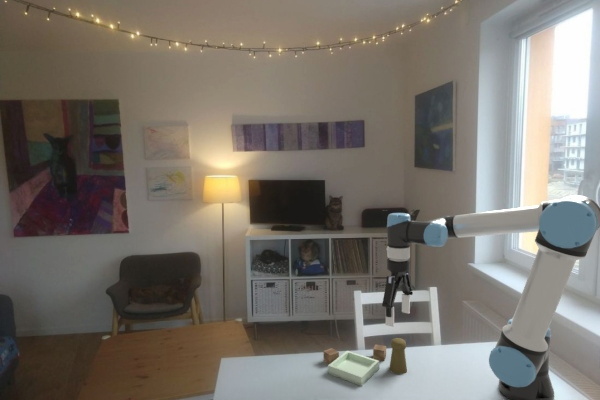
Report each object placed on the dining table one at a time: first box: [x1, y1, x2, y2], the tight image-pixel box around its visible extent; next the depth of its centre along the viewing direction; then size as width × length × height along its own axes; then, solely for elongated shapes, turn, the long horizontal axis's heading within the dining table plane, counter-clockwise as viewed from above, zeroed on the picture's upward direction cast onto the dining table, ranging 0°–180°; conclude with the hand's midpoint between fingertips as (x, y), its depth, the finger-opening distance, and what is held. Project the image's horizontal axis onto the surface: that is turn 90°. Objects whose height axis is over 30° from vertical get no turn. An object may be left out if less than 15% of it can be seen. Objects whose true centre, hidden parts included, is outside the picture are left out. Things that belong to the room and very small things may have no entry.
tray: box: [327, 350, 380, 387], centre depth 141 cm, size 13×13×3 cm
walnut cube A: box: [372, 344, 387, 362], centre depth 150 cm, size 4×4×4 cm
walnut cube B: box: [323, 347, 340, 366], centre depth 147 cm, size 4×4×4 cm
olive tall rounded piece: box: [388, 337, 408, 375], centre depth 141 cm, size 6×6×11 cm
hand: (398, 318), depth 139 cm, fingers open, 13 cm apart
